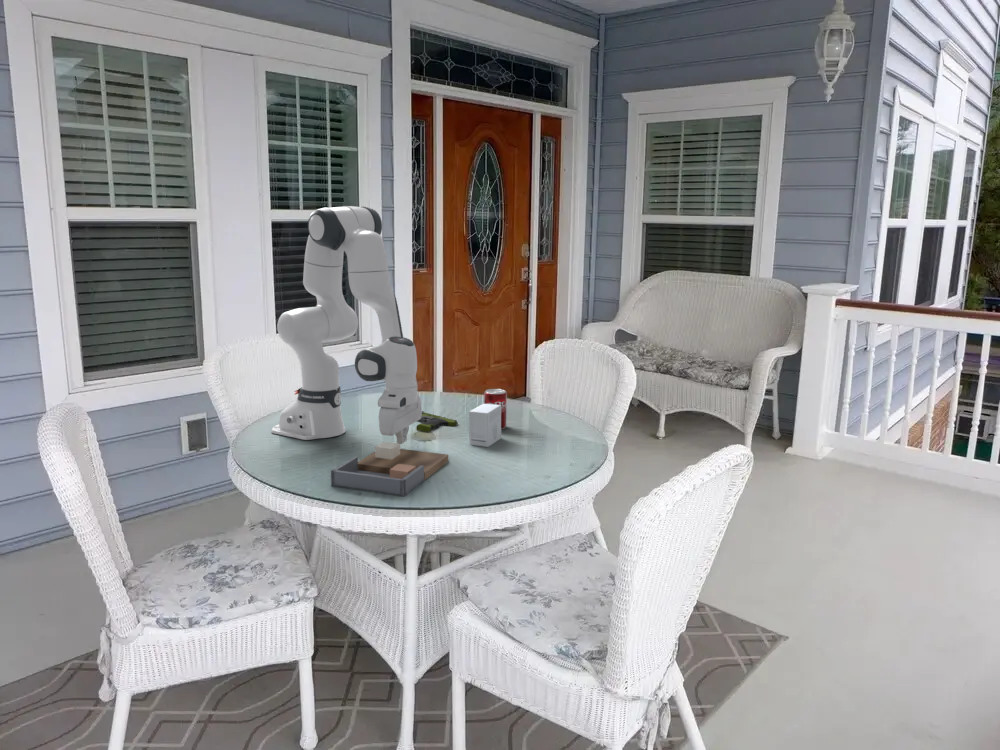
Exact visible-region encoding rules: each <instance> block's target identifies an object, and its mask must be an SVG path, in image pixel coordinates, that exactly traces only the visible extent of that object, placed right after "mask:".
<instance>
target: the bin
mask: <svg viewBox="0 0 1000 750" xmlns="http://www.w3.org/2000/svg"><path fill="white" fill-rule="evenodd" d="M358 458H359V457H358V456H353V457H352V458H350V459H348V460H347V461H345V462H343V463H341V464H340V465H338V466H337V467H335V468H333V469H331V470H330V486H331V487H336V488H342V489H350V490H357V491H364V492H369V493H370V492H371V493H378V494H384V495H392V496H397V497H406V496H407V495H408V494H409V493H410V492H411V491H413V490H414V489H415V488H417V487H418V486H419V485H421V483H423V482H424V481H425V480H424V466H421V465H420V466H419V467H418V468H416V469H415V470H413V471H412V472H411V473H409V474H408V475H407V476H405V477H404V478H403V479H398V478H391V477H390V474H385V473H377V472H370V471H363V470H358V462H359V459H358Z"/></svg>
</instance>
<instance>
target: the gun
mask: <svg viewBox="0 0 1000 750" xmlns="http://www.w3.org/2000/svg"><path fill="white" fill-rule="evenodd" d="M417 422H419V424H417V426H415V427H416V431H418V432H423V433H424V432H426V433H429V432H431V431H433V430H435V429H438V427H439V426H448V427H449V426H451V427H455V426H457V425H458V424H459V422H458V421H457V420H456V419H452V418H448V417H445V416H439V415H436V414H431V413H427V412H425V411H424V410H422V416H421V419H420V420H418V421H417Z"/></svg>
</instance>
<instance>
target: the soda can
mask: <svg viewBox="0 0 1000 750" xmlns="http://www.w3.org/2000/svg"><path fill="white" fill-rule="evenodd" d="M507 397H508V393H507V391H506V390H504V389H501V388H489V389H486V390H485V391H484V392H483V404H493V405H501V431H502V430H505V429H506V427H507V413H508V411H507V409H508V408H507V407H508V404H507V403H508V398H507Z"/></svg>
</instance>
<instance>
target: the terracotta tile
mask: <svg viewBox="0 0 1000 750" xmlns="http://www.w3.org/2000/svg"><path fill="white" fill-rule="evenodd" d="M415 469H416V466H412V465H404V464H397V465H396V466H394V467H393V468H391V469H390V477H391V478H398V479H403V478H404V477H405V476H407V475H408V474H409V473H411V472H412V471H413V470H415Z"/></svg>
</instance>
